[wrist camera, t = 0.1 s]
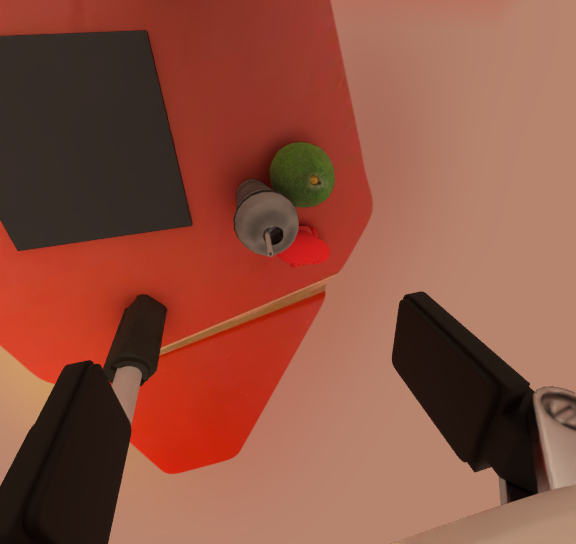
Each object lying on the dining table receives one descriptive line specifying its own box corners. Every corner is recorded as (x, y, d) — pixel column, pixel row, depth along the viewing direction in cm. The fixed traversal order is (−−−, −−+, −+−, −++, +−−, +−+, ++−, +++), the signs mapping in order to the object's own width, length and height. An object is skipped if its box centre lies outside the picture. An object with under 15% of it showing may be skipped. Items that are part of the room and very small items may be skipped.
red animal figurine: (271, 259, 50) (279, 277, 45) (270, 224, 47) (278, 239, 42) (319, 254, 52) (331, 271, 46) (320, 219, 49) (334, 234, 44)
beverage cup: (272, 222, 47) (312, 292, 30) (223, 216, 45) (237, 288, 28) (281, 173, 44) (332, 220, 27) (229, 164, 42) (248, 210, 25)
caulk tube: (149, 329, 51) (111, 494, 30) (120, 313, 48) (56, 481, 27) (170, 309, 50) (146, 464, 29) (142, 291, 47) (93, 448, 26)
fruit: (267, 200, 45) (286, 230, 35) (259, 142, 41) (278, 156, 31) (320, 191, 46) (353, 217, 36) (317, 134, 42) (353, 145, 32)
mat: (-96, 40, 30) (-101, 39, 29) (147, 31, 33) (146, 30, 33) (19, 249, 41) (17, 251, 40) (192, 224, 44) (192, 225, 44)
